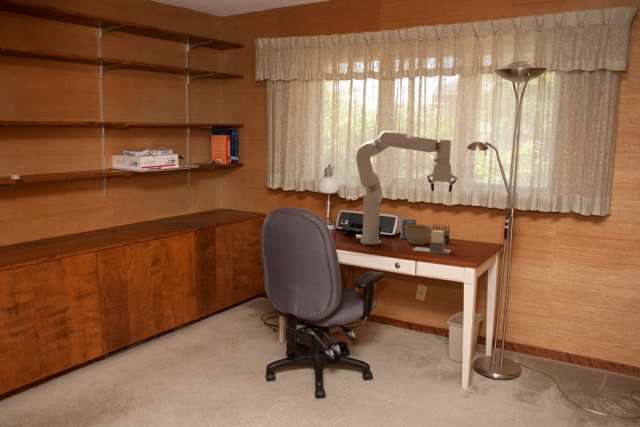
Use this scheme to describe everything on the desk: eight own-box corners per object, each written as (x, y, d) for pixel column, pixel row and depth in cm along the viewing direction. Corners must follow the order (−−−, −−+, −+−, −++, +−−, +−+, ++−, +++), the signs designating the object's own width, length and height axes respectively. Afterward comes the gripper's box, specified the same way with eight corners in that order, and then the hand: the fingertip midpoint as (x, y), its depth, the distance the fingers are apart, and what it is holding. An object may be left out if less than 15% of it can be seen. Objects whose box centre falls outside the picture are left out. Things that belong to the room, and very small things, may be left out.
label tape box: (414, 238, 359) (415, 219, 357) (415, 239, 355) (416, 219, 353) (400, 237, 358) (401, 218, 357) (401, 239, 354) (402, 219, 353)
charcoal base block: (429, 251, 313) (430, 242, 313) (431, 248, 320) (432, 240, 319) (442, 252, 311) (443, 243, 310) (444, 249, 318) (444, 241, 317)
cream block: (431, 242, 313) (431, 231, 312) (432, 240, 318) (433, 229, 318) (442, 243, 311) (442, 232, 310) (443, 241, 317) (444, 230, 316)
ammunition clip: (431, 242, 344) (432, 223, 342) (431, 242, 346) (432, 223, 344) (449, 244, 341) (450, 224, 339) (449, 243, 343) (450, 224, 341)
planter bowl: (398, 243, 338) (398, 225, 336) (415, 241, 348) (416, 223, 347) (418, 248, 326) (419, 229, 324) (436, 245, 336) (437, 227, 334)
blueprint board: (411, 252, 314) (411, 250, 314) (415, 248, 325) (415, 246, 325) (448, 255, 308) (448, 253, 307) (450, 251, 319) (451, 249, 319)
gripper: (426, 161, 321) (424, 191, 323) (457, 162, 315) (455, 193, 317) (428, 160, 328) (427, 190, 330) (459, 162, 322) (457, 191, 324)
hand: (441, 191), depth 324 cm, fingers open, 9 cm apart
